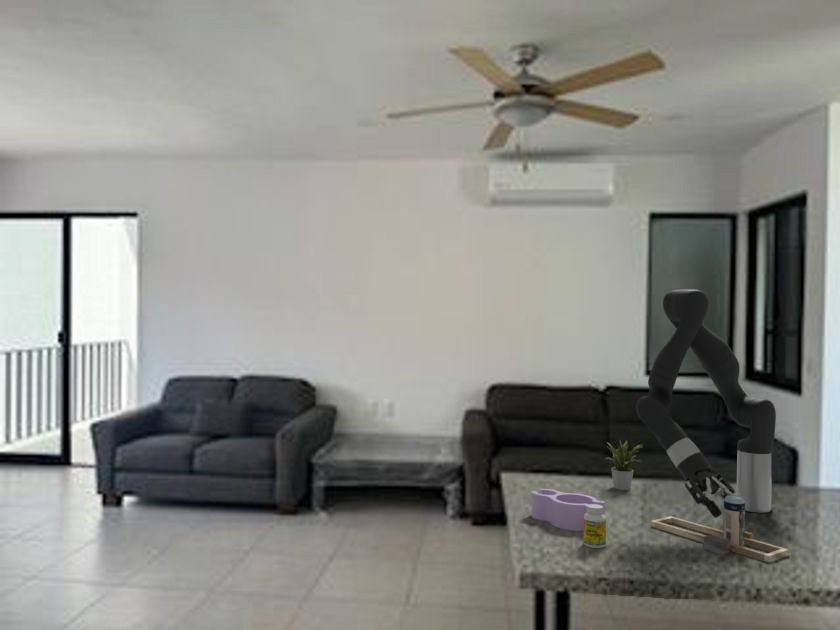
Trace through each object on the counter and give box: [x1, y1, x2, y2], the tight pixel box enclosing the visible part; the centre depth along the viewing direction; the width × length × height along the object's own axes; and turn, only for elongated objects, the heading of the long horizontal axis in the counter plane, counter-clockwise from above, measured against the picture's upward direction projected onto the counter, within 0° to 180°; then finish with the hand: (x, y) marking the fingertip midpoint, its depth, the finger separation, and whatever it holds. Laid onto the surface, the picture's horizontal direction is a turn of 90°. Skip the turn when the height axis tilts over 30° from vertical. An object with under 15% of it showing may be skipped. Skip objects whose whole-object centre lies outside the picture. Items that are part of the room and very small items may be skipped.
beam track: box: [650, 515, 790, 563], centre depth 174 cm, size 15×32×3 cm, turn 35°
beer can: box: [722, 494, 746, 547], centre depth 171 cm, size 5×5×12 cm
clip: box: [530, 488, 606, 532], centre depth 189 cm, size 20×12×7 cm, turn 44°
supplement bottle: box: [583, 504, 607, 549], centre depth 169 cm, size 5×5×10 cm
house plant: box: [604, 438, 642, 491], centre depth 228 cm, size 14×14×16 cm
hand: (728, 513), depth 172 cm, fingers open, 8 cm apart
